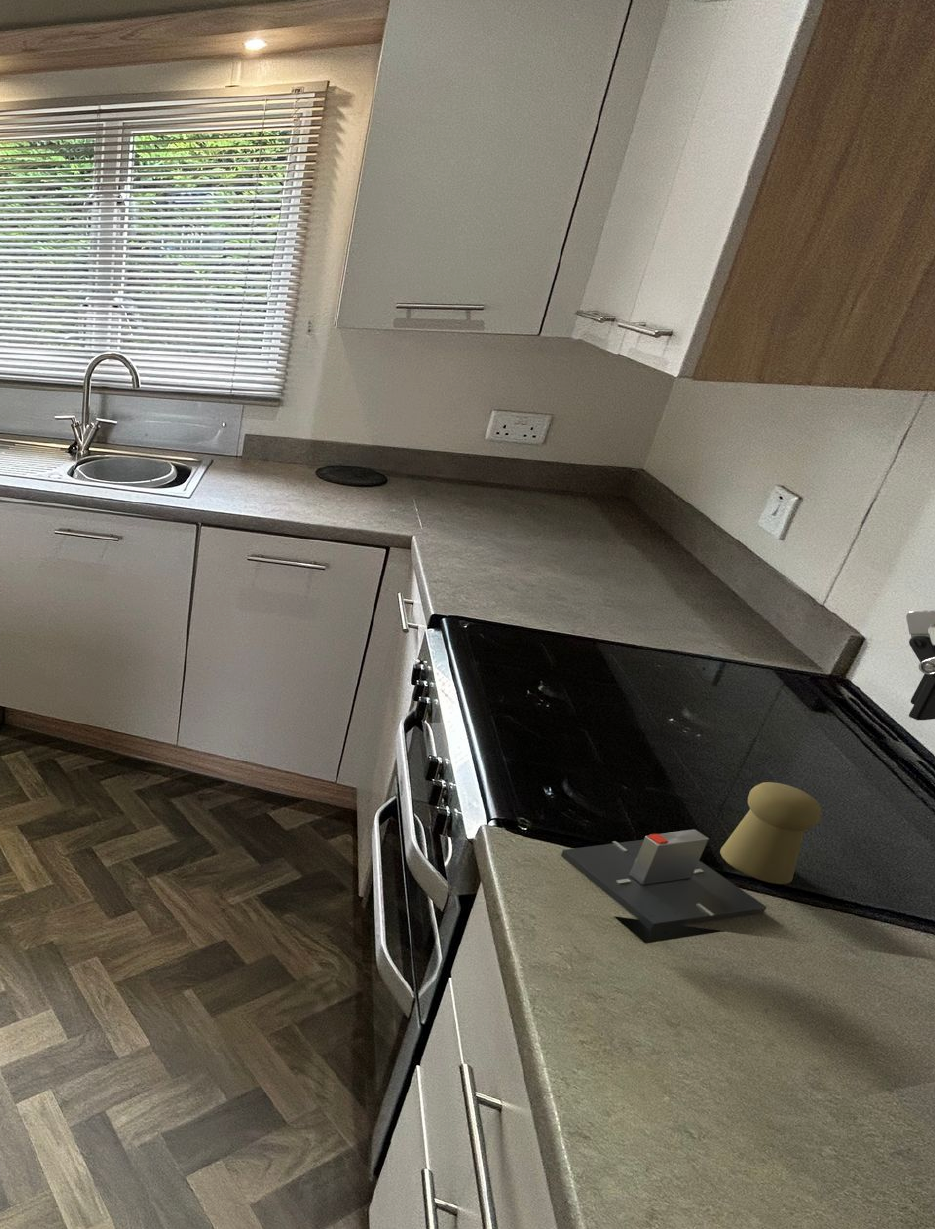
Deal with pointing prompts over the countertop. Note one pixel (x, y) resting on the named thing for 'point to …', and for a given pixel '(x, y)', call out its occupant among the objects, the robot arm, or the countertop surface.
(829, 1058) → the countertop surface
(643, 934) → the plate
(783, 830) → the cork
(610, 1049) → the countertop surface
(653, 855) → the tap handle
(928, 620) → the robot arm
